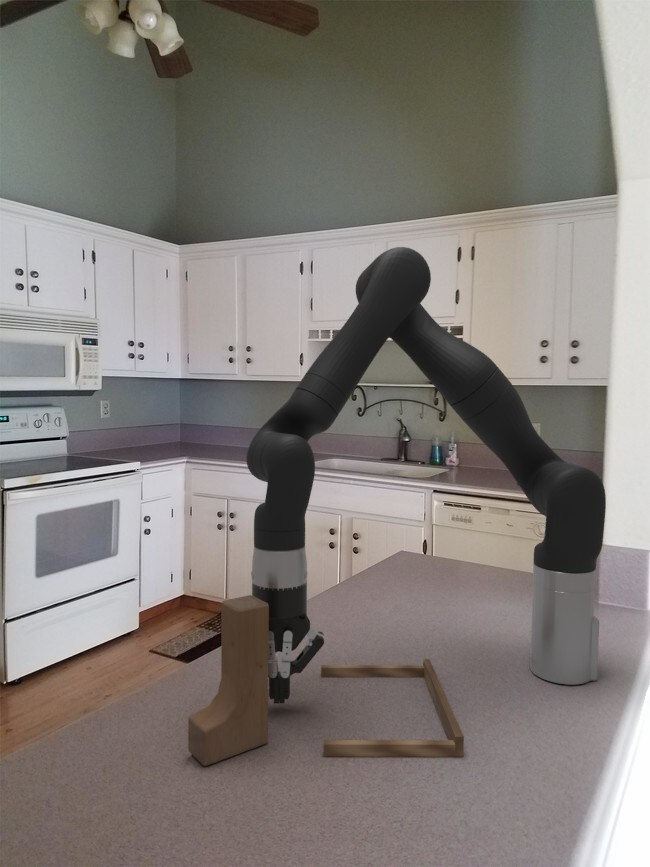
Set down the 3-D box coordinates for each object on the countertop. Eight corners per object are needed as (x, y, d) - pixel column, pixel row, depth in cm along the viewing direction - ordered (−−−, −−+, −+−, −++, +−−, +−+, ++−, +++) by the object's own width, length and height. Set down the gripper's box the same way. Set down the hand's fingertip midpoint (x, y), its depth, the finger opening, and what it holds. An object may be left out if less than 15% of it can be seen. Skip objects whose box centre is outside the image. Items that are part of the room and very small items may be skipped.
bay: (429, 674, 102) (429, 659, 101) (463, 756, 79) (463, 736, 78) (321, 674, 101) (321, 658, 101) (323, 756, 78) (323, 736, 78)
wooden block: (203, 768, 75) (204, 617, 74) (187, 751, 79) (186, 607, 78) (269, 743, 81) (270, 603, 80) (250, 728, 84) (251, 593, 83)
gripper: (327, 570, 92) (326, 688, 93) (234, 570, 92) (234, 688, 93) (328, 586, 85) (327, 714, 86) (227, 586, 85) (228, 714, 86)
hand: (279, 700), depth 90 cm, fingers closed
